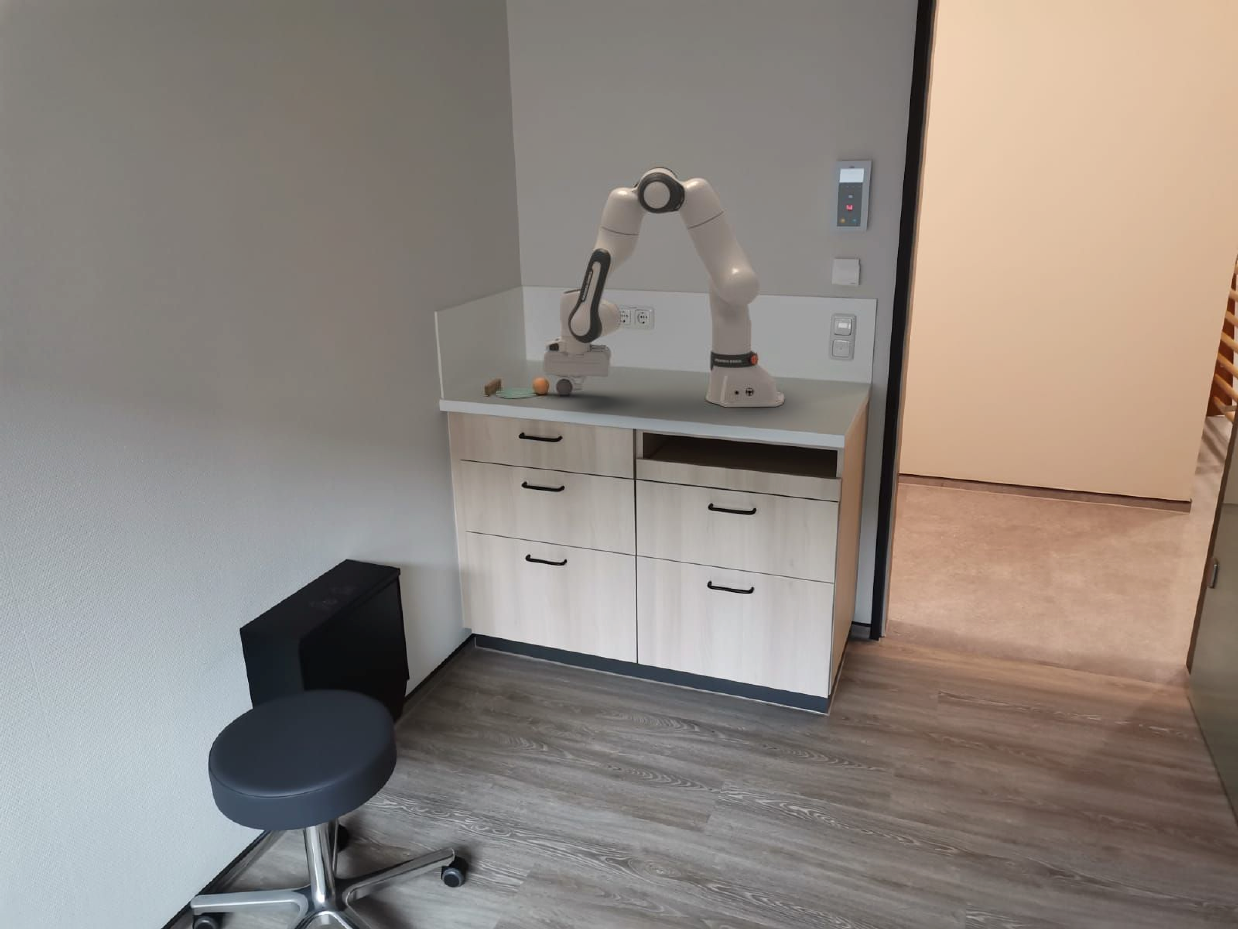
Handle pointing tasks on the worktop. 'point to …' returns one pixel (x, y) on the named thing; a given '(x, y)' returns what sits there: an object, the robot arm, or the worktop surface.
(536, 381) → the object ball
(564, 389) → the dark gray ball
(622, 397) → the worktop surface
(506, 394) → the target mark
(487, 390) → the stopper bar
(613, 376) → the worktop surface
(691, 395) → the worktop surface
